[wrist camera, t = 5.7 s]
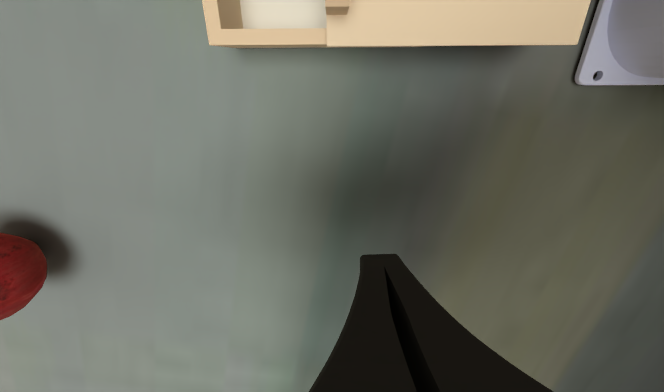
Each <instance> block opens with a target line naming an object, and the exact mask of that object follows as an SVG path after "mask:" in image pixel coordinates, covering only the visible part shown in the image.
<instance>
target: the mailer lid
mask: <svg viewBox="0 0 664 392" xmlns="http://www.w3.org/2000/svg"><path fill="white" fill-rule="evenodd" d="M590 2H591V0H325V8H326V19H327V47H356V46H507V45H577V43H578V40H579V37H580V34H581V31H582V27H583V24H584V21H585V18H586V15H587V11H588V8H589V5H590Z"/></svg>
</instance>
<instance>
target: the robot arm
mask: <svg viewBox="0 0 664 392" xmlns="http://www.w3.org/2000/svg"><path fill="white" fill-rule="evenodd" d="M595 72H597V76H596V78H595V79H593V75H594V73H595ZM575 82H576V83H577V84H579V85H664V0H599V3H598V6H597V9H596V12H595V16H594V19H593V22H592V25H591V28H590V31H589V34H588V37H587V40H586V43H585V46H584V50H583V53H582V56H581V59H580V62H579V65H578V68H577V71H576V74H575ZM309 392H553V391H552V390H550V389H548V388H547V387H545V386H544V385H542V384H541V383H539V382H538V381H536V380H534V379H533V378H531V377H530V376H528V375H527V374H525V373H524V372H522V371H521V370H519V369H518V368H516V367H515V366H514V365H512V364H511V363H509V362H508V361H507V360H505V359H504V358H502V357H501V356H500V355H498V354H497V353H496V352H494V351H493V350H492V349H490V348H489V347H488V346H486V345H485V344H484V343H482V342H481V341H480V340H479V339H477V338H476V337H475V336H474V335H472V334H471V333H470V332H469V331H468V330H467V329H465V328H464V327H463V326H462V325H461V324H460V323H459V322H457V321H456V320H455V319H454V318H453V317H452V316H451V315H450V314H449V313H448V312H447V311H446V310H445V309H444V308H443V307H442V306H441V305H440V304H439V303H438V302H437V301H436V300H435V299H434V298H433V297H432V296H431V295H430V294H429V293H428V291H427V290H426V289H425V288H424V287H423V286H422V285H421V284H420V283H419V281H418V280H417V279H416V278H415V277H414V275H413V274H412V273H411V272H410V271H409V269H408V268H407V267H406V266H405V264H404V263H403V262H402V260H401V259H400V258H399V256H398V255H397V254H376V255H362V256H361V257H360V276H359V281H358V285H357V290H356V294H355V297H354V300H353V303H352V306H351V309H350V312H349V315H348V317H347V320H346V323H345V325H344V327H343V330H342V332H341V334H340V336H339V339H338V341H337V343H336V345H335V347H334V349H333V351H332V353H331V355H330V357H329V358H328V360H327V362H326V364H325V366H324V367H323V369H322V371H321V372H320V374H319V376H318V377H317V379H316V381H315V382H314V384H313V386H312V387H311V389H310V391H309Z"/></svg>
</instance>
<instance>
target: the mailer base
mask: <svg viewBox="0 0 664 392" xmlns="http://www.w3.org/2000/svg"><path fill="white" fill-rule="evenodd" d="M202 3H203V9H204V15H205V21H206V27H207V33H208V39H209V45H213V46H222V47H231V48H339V47H327V19H326V8H325V0H202ZM356 47H421V46H356Z"/></svg>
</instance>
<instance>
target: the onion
mask: <svg viewBox="0 0 664 392" xmlns="http://www.w3.org/2000/svg"><path fill="white" fill-rule="evenodd" d="M46 275H47V262H46V258H45V256H44V254H43V253H42V251H41V249H40V248H39V246H38V244H36V243H35V242H33V241H31V240H27V239H25V238H22V237H19V236H14V235H10V234H4V233H0V320H2V319H4V318H7V317H9V316H11V315H13V314H14V313H16V312H17V311H19V310H21V309H22V308H24V307H25V306H26V305H27V304H28V303H29V302H30V301H31V299H32V298H33V297H34V296H35V295H36V294H37V293H38V292H39V290H40V289H41V288H42V286H43V284H44V281H45V279H46Z"/></svg>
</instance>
